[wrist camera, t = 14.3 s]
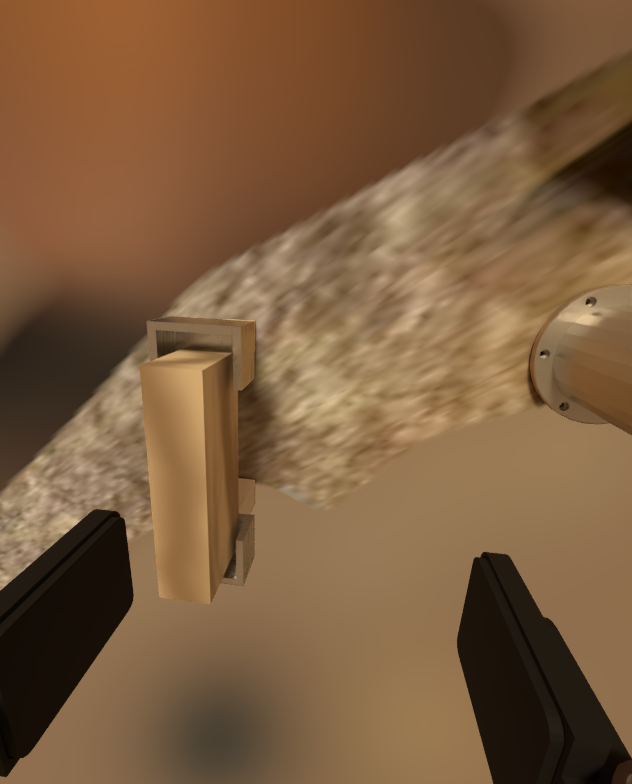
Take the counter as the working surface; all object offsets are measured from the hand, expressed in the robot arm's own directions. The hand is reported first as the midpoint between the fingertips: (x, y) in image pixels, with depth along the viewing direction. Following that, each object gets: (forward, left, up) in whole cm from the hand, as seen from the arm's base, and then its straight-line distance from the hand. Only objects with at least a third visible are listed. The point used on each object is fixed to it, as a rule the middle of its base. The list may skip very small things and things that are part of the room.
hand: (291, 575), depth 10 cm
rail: (+10, +7, -20) cm, 24 cm away
